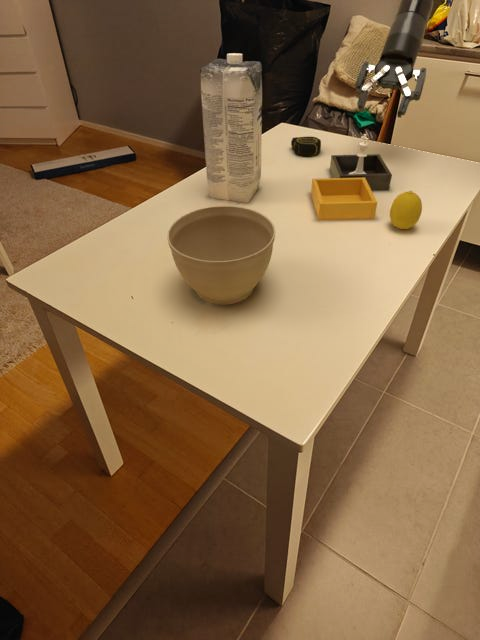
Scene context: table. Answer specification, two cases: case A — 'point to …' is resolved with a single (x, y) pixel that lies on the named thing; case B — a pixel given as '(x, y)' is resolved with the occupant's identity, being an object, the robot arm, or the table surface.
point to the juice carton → (232, 127)
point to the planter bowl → (222, 251)
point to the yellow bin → (343, 199)
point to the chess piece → (361, 155)
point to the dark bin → (372, 166)
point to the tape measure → (306, 146)
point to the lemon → (406, 210)
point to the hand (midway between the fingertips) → (379, 112)
